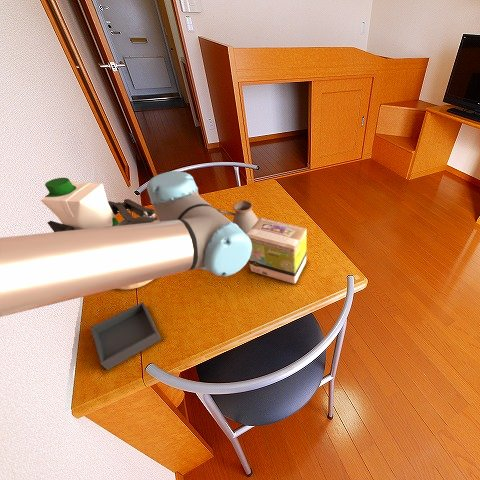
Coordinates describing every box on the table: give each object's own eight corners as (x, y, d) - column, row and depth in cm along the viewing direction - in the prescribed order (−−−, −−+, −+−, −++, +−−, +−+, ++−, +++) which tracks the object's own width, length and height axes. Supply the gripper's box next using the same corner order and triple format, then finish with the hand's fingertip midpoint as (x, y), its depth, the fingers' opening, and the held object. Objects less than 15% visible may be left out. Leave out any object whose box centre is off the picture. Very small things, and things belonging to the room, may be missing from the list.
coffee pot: (263, 224, 103) (259, 189, 93) (265, 245, 94) (260, 208, 84) (203, 230, 99) (192, 194, 89) (199, 252, 90) (187, 215, 81)
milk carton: (104, 242, 72) (61, 171, 60) (138, 243, 73) (103, 173, 60) (81, 265, 66) (27, 192, 53) (120, 267, 66) (75, 194, 53)
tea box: (249, 272, 84) (242, 235, 75) (264, 251, 91) (260, 215, 82) (295, 285, 81) (294, 248, 71) (307, 262, 88) (307, 226, 79)
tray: (107, 370, 61) (100, 364, 59) (96, 334, 67) (90, 327, 65) (161, 339, 67) (157, 332, 65) (147, 308, 73) (142, 302, 71)
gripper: (118, 285, 53) (33, 257, 57) (192, 222, 68) (121, 204, 73) (99, 257, 48) (8, 229, 53) (184, 196, 64) (108, 178, 68)
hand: (74, 214), depth 63 cm, fingers closed on milk carton, 9 cm apart
